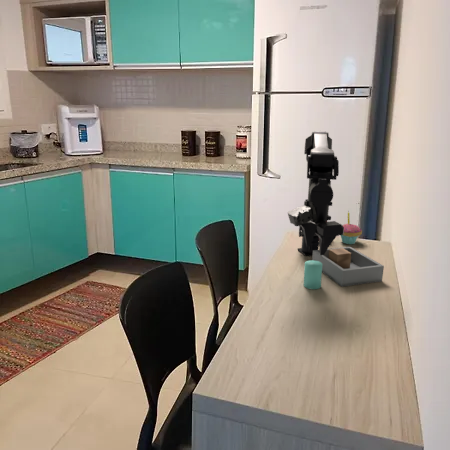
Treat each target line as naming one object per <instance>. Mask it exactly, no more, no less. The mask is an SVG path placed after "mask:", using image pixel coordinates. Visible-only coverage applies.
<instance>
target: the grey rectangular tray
mask: <svg viewBox="0 0 450 450" xmlns="http://www.w3.org/2000/svg"><path fill="white" fill-rule="evenodd" d="M339 248H340V247H335V248H331V249H339ZM341 248H343V249H345V250H347V251H349V252H350V253H351V261H350V268H344V269H343V268H342V267H340V266H339V265H337V264H336V263H334V262H333V261H331V260H330V259H328V258H329V249H330V248H328V249H327V251H326V252H325V254H324V255H320V249H318V250H313V255H311V256H312V260H314V261H319V262H321V263H322V274H324V275H325V276H326V277H328V278H329V279H330V280H332V281H333V282H334V283H336V284H338V286H340V287H342V288H343V287H350V286H356V285H357V286H358V285H365V284H372V283H378V282H380V283H381V282H383V276H384V268H385V266H384V265H383V264H381V263H380V262H377V260H374V259H373V258H371V257H369V256H367V255H366V254H364V253H362V252H360V251H359V250H357V249H355V248H353V247H351V246H344V247H341Z"/></svg>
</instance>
